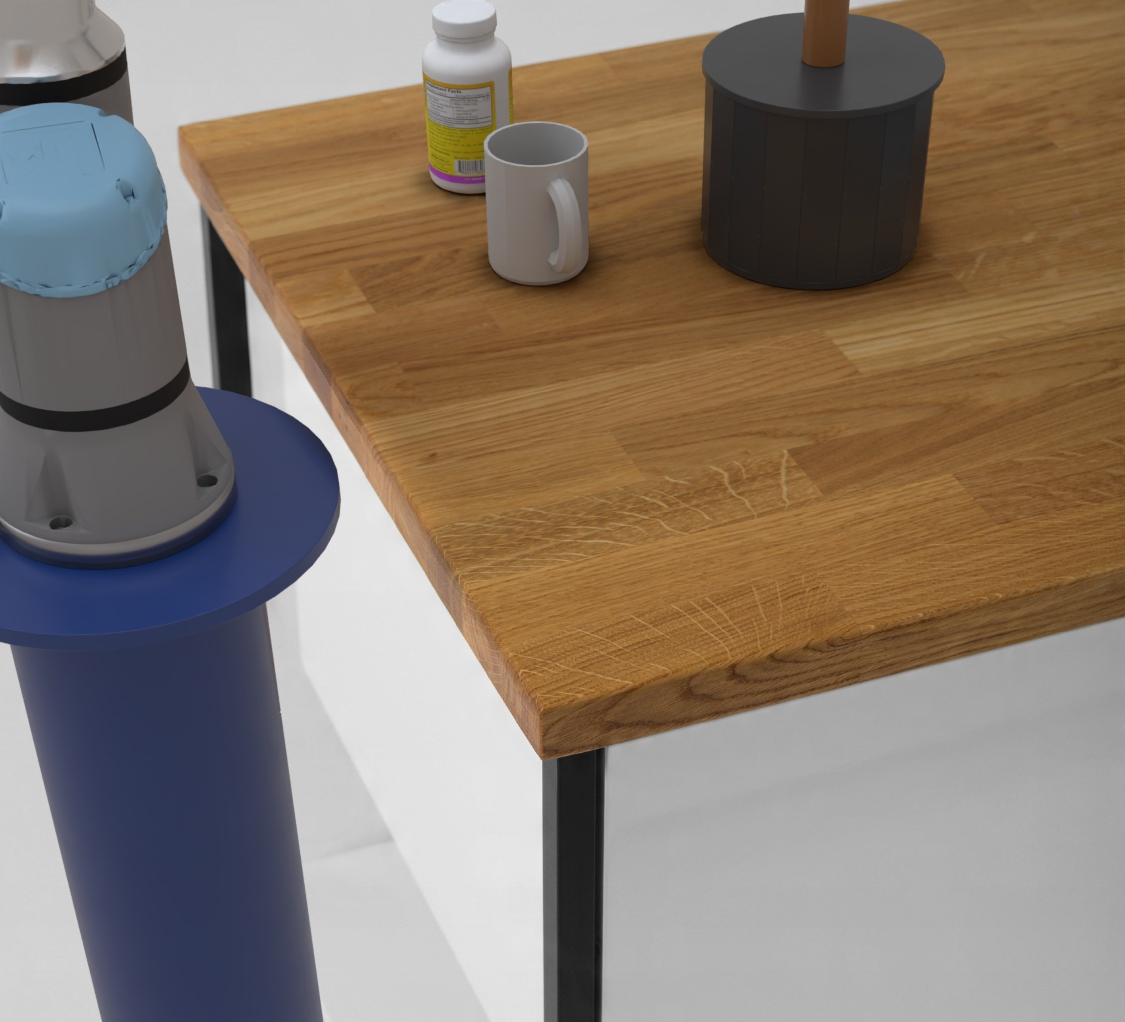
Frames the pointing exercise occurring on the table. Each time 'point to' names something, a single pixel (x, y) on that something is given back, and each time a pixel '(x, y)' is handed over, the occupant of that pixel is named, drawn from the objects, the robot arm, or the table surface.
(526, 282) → the cup
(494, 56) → the supplement bottle
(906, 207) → the waste tin
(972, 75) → the table surface
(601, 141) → the table surface
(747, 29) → the tin lid
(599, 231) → the table surface
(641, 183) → the table surface
